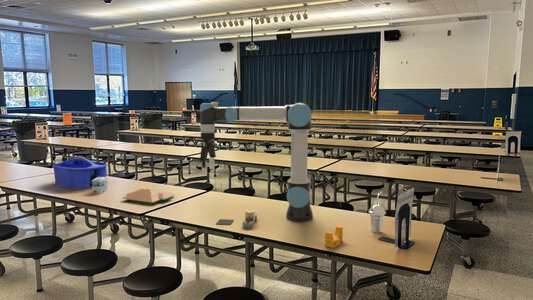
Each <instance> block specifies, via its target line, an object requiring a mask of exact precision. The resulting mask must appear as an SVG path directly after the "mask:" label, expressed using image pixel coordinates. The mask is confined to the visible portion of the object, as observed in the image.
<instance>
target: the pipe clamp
mask: <svg viewBox="0 0 533 300" xmlns="http://www.w3.org/2000/svg"><path fill="white" fill-rule="evenodd" d="M343 228H344V227H343V226H341V225H337V226H336V225H335V230H334V233H333V232H332V231H328V230H327V231H325V232H324V246H325V247H328V248H332V249H334V248H336V247H338V246H339V245H341V241H342V240H343V234H344V233H343V230H344V229H343Z"/></svg>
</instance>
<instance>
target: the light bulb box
mask: <svg viewBox="0 0 533 300" xmlns="http://www.w3.org/2000/svg"><path fill="white" fill-rule="evenodd" d="M91 185H92V186H91V188H92V190H91V191H92V194H98V195H99V194H103V193H105V192H107V191H108V189H109V187H108V177H107V176H106V177H98V178H95V179H93V180H92V184H91Z"/></svg>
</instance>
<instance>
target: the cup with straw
mask: <svg viewBox="0 0 533 300" xmlns="http://www.w3.org/2000/svg"><path fill="white" fill-rule="evenodd" d="M382 193H383V190H381V191H380V192H379V193H378V194H377V196H376V204H373V205H372V206H371V207H370V208H369V209H368V214H369V217H370V224H371V225H370V227H371V232H372V233H375V234H377V233H381V232H382V227H383V221H384V217H385V215H386V214H387V212H386V210H385V209H384V207H383V206H382V205H381V204H379V197H380V195H381V194H382Z"/></svg>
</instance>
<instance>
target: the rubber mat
mask: <svg viewBox="0 0 533 300" xmlns="http://www.w3.org/2000/svg"><path fill="white" fill-rule="evenodd" d="M233 222H234V219H226V218H224V219H223V218H222V219H221V218H219V219H218V220H217V222H216V223H215V224H216V225H218V226H219V225H222V226H231V225H232V223H233Z"/></svg>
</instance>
